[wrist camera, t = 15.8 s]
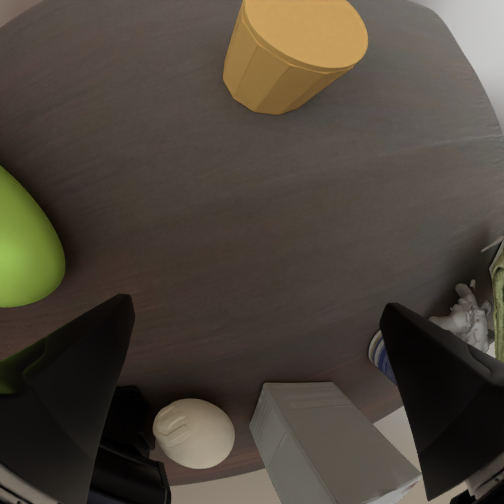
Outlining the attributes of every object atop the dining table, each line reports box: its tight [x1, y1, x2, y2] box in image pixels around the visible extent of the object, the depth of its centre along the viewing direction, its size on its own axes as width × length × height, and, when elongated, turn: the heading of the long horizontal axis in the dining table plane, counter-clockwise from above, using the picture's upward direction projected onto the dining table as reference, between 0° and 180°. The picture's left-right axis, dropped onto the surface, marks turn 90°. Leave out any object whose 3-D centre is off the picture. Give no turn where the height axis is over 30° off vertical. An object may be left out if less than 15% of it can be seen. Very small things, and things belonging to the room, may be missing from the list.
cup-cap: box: [223, 0, 368, 115], centre depth 14 cm, size 7×7×9 cm
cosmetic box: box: [249, 382, 422, 504], centre depth 17 cm, size 8×7×16 cm
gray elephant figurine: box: [428, 283, 495, 353], centre depth 25 cm, size 9×12×8 cm
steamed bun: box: [153, 398, 235, 469], centre depth 19 cm, size 7×7×7 cm
